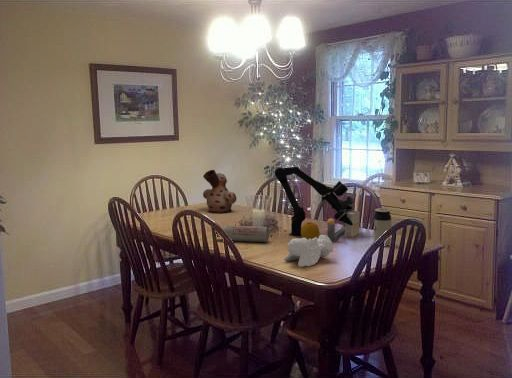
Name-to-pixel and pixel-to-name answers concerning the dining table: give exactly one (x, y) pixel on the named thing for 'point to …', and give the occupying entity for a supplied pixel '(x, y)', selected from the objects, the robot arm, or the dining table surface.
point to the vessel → (218, 193)
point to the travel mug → (382, 223)
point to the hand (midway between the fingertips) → (354, 223)
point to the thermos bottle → (247, 233)
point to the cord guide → (331, 230)
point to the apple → (310, 231)
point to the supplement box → (354, 229)
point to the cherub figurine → (308, 250)
